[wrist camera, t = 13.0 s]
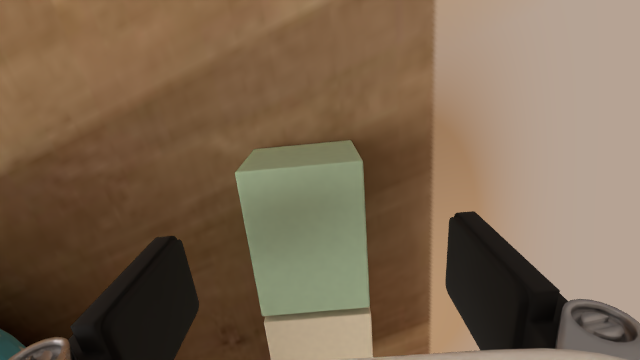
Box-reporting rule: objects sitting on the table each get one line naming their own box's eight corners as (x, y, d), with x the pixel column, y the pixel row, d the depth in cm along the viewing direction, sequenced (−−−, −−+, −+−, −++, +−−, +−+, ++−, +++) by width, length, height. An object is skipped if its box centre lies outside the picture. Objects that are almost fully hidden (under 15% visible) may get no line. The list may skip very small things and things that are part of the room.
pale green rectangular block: (253, 148, 16) (234, 172, 12) (351, 139, 16) (363, 160, 12) (272, 266, 18) (261, 317, 14) (358, 258, 18) (370, 307, 14)
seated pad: (274, 271, 18) (263, 323, 14) (359, 263, 18) (371, 313, 14) (288, 360, 20) (283, 426, 17) (364, 354, 20) (376, 418, 16)
